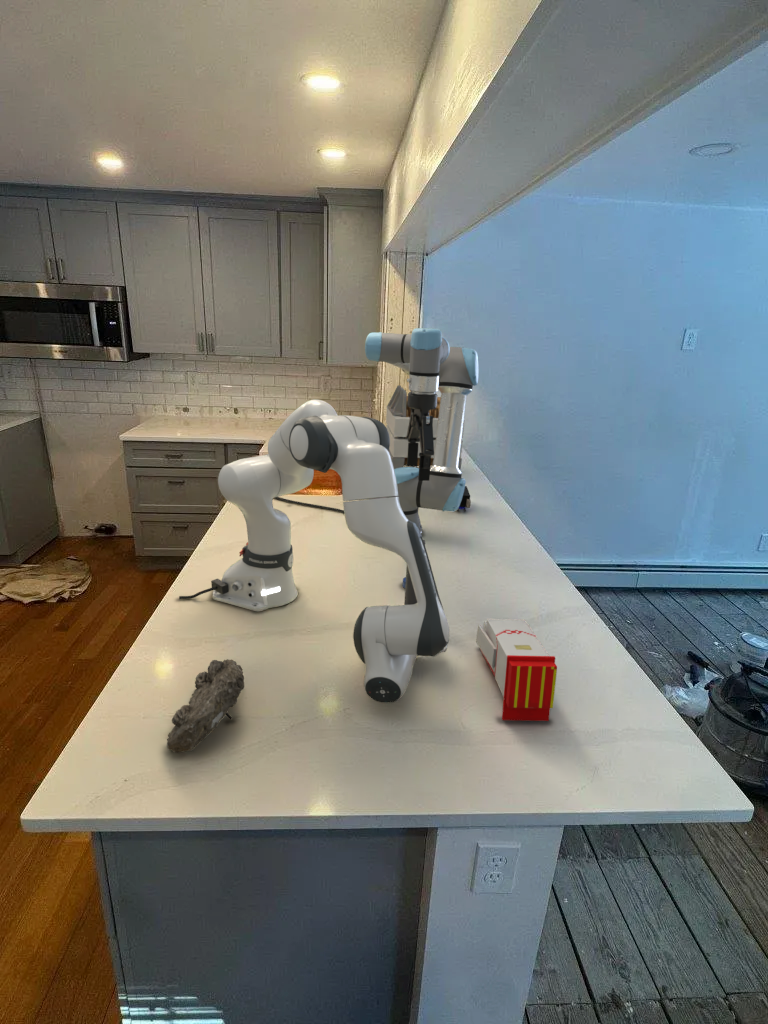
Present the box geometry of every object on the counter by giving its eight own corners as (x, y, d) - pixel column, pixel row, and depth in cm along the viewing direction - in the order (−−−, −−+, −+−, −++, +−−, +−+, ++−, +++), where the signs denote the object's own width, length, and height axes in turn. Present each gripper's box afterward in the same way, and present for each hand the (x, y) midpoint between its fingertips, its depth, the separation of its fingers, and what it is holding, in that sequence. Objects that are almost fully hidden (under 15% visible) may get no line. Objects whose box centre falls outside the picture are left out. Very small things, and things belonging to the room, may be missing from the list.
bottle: (399, 614, 147) (403, 540, 140) (413, 608, 151) (418, 535, 144) (413, 623, 144) (419, 547, 136) (428, 616, 147) (434, 541, 140)
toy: (523, 604, 135) (566, 662, 106) (518, 656, 138) (559, 727, 109) (472, 603, 135) (501, 661, 105) (468, 655, 138) (496, 726, 108)
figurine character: (470, 516, 223) (465, 500, 237) (473, 499, 220) (467, 484, 233) (453, 516, 223) (449, 500, 236) (455, 498, 220) (451, 483, 233)
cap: (408, 591, 160) (409, 584, 159) (399, 585, 163) (399, 578, 162) (420, 587, 162) (421, 581, 161) (411, 581, 165) (411, 575, 165)
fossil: (192, 660, 117) (244, 628, 112) (224, 691, 120) (276, 661, 115) (142, 746, 98) (202, 712, 93) (182, 779, 101) (242, 748, 96)
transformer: (382, 463, 289) (386, 382, 275) (445, 464, 293) (451, 384, 279) (390, 482, 257) (394, 392, 243) (460, 483, 261) (468, 394, 247)
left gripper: (447, 641, 119) (453, 609, 132) (352, 627, 123) (367, 597, 136) (444, 666, 121) (451, 633, 134) (352, 652, 125) (366, 620, 138)
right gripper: (398, 385, 155) (394, 460, 162) (420, 399, 132) (414, 487, 139) (425, 385, 156) (420, 460, 163) (451, 400, 133) (444, 486, 140)
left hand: (408, 615), depth 135 cm, fingers open, 8 cm apart
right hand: (417, 473), depth 151 cm, fingers open, 13 cm apart
